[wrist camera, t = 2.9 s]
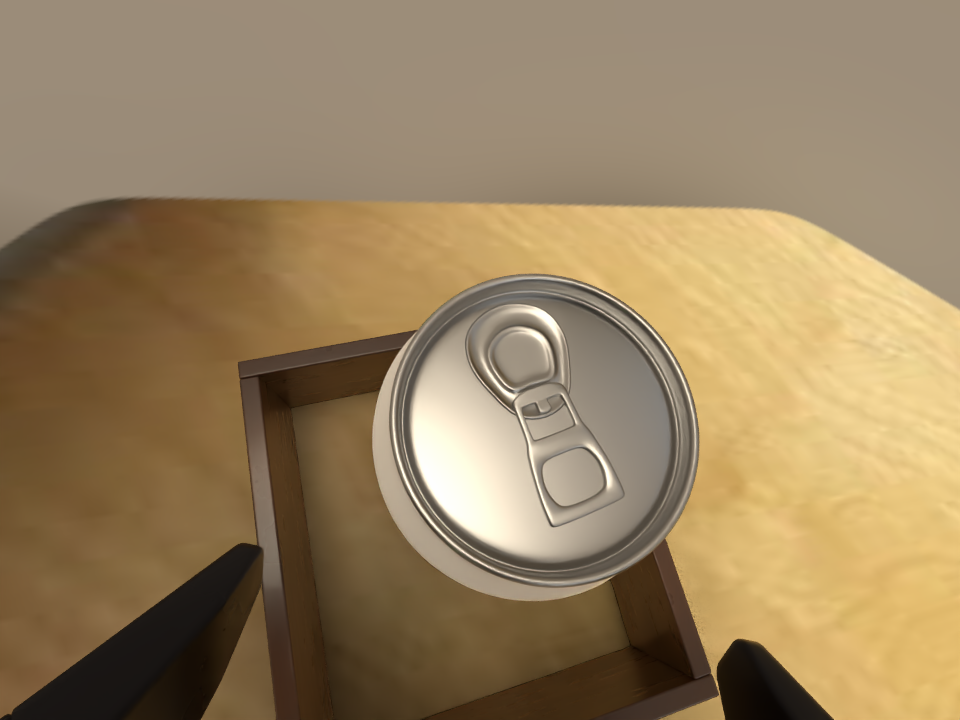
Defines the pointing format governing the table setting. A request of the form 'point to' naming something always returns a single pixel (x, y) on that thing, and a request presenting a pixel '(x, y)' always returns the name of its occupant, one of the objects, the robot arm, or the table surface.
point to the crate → (292, 593)
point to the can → (535, 438)
